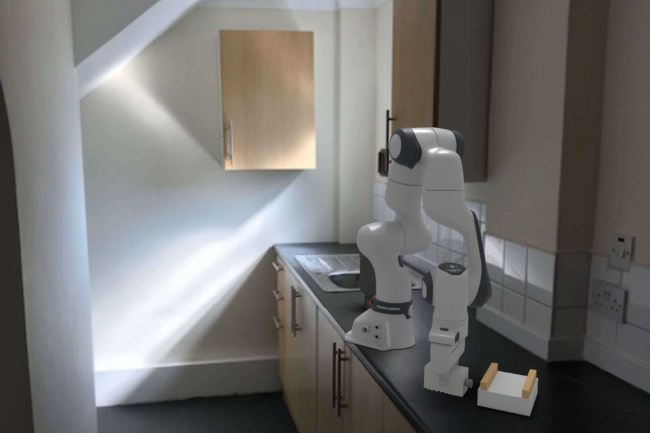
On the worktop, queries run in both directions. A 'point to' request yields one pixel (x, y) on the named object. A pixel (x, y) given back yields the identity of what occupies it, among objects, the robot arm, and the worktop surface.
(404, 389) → the worktop surface
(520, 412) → the white tray with rails
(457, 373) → the white block with knob
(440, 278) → the robot arm
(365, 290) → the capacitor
